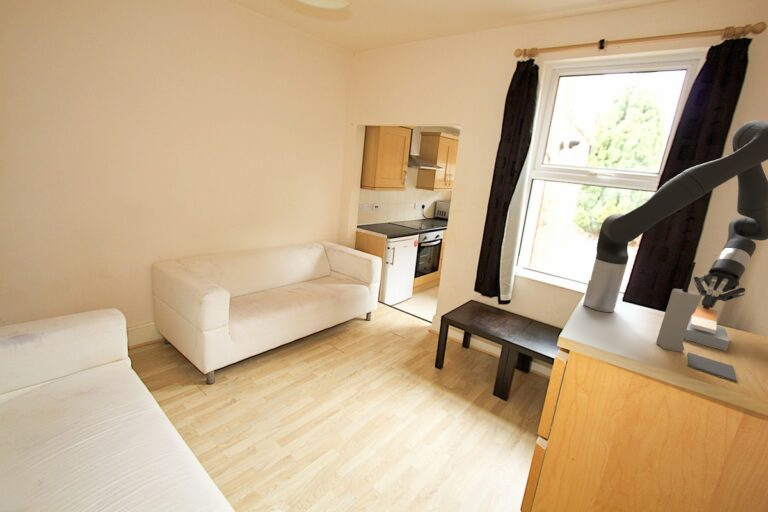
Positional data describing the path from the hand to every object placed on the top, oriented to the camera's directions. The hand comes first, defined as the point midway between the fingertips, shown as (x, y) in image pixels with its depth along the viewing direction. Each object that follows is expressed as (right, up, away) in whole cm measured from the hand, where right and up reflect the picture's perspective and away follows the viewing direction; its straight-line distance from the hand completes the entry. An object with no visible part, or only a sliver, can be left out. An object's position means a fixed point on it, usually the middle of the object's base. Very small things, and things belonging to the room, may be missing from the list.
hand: (706, 307), depth 109 cm
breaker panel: (-4, -9, -2) cm, 10 cm away
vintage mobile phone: (-20, -10, -11) cm, 25 cm away
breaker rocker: (-3, -4, -2) cm, 5 cm away
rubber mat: (-17, -12, -20) cm, 29 cm away
